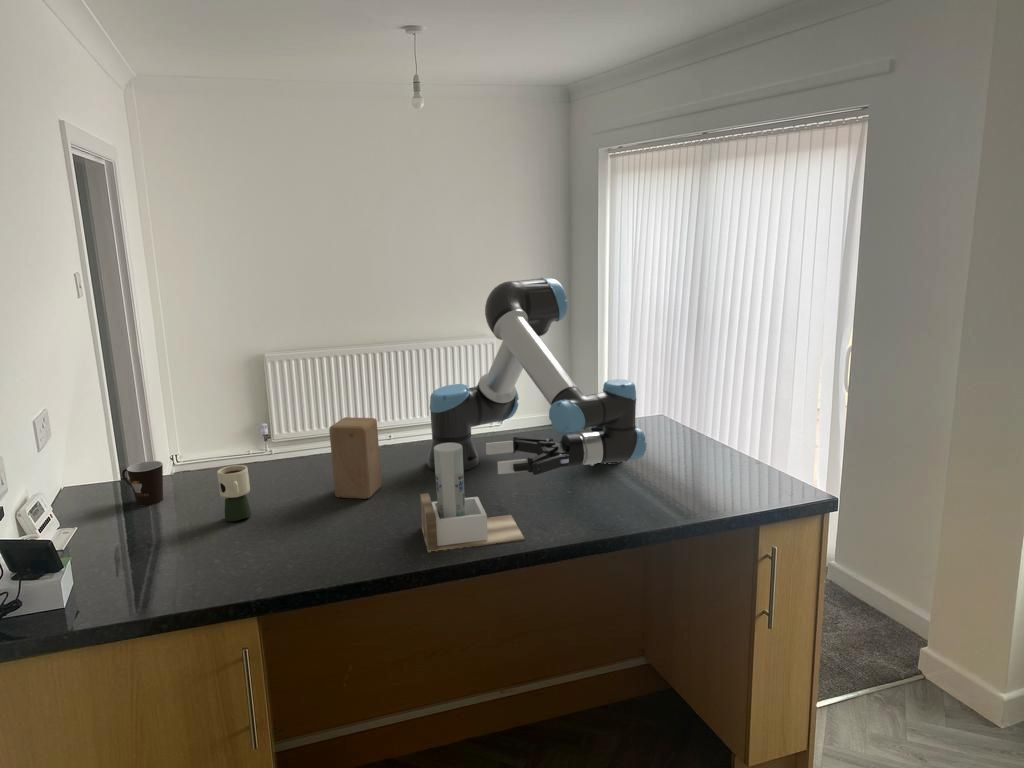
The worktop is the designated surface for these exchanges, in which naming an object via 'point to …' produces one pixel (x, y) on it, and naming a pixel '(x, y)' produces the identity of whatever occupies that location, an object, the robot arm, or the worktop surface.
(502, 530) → the brown l-shaped stand
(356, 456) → the wooden block
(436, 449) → the spray can
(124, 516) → the worktop surface
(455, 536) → the sleeve
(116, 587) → the worktop surface
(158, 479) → the coffee mug
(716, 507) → the worktop surface
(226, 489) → the character mug
